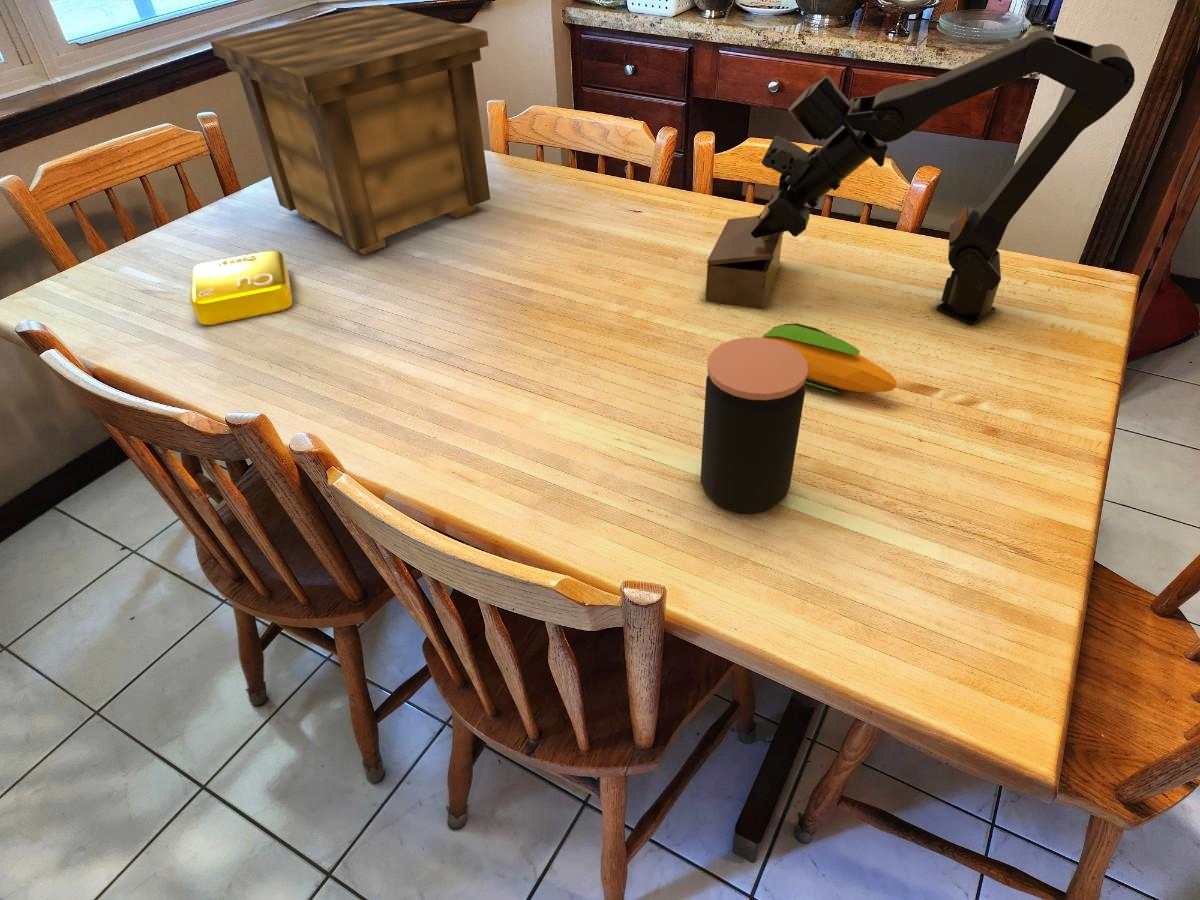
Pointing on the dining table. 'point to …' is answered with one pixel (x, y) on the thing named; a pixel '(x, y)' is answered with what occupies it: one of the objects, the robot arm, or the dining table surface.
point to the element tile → (240, 287)
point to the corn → (833, 360)
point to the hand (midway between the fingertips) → (756, 227)
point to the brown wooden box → (742, 281)
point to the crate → (366, 118)
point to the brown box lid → (744, 242)
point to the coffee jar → (751, 422)
